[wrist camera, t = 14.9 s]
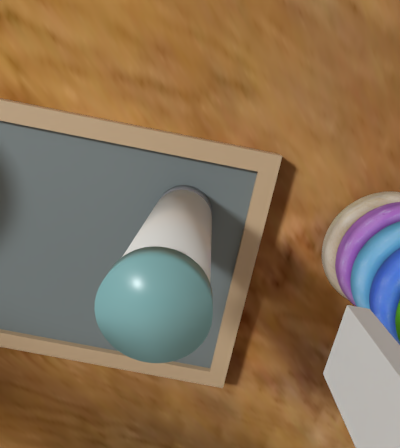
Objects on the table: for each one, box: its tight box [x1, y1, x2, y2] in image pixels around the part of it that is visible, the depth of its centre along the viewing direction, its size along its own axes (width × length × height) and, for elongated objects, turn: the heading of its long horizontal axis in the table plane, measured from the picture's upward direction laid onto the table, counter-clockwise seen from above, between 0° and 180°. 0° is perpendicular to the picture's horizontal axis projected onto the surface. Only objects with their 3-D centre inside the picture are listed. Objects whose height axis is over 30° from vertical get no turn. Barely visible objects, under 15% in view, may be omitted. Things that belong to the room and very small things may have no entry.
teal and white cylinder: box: [94, 185, 213, 363], centre depth 18 cm, size 4×4×12 cm
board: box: [0, 98, 282, 388], centre depth 25 cm, size 22×17×1 cm
